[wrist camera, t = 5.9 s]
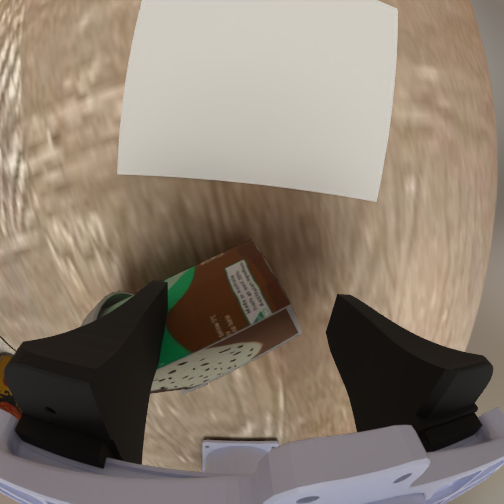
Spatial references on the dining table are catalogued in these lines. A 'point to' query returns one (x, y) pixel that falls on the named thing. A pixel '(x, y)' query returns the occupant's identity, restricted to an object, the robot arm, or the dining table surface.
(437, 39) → the dining table surface
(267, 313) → the food container
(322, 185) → the mat
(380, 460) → the robot arm
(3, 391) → the condiment
